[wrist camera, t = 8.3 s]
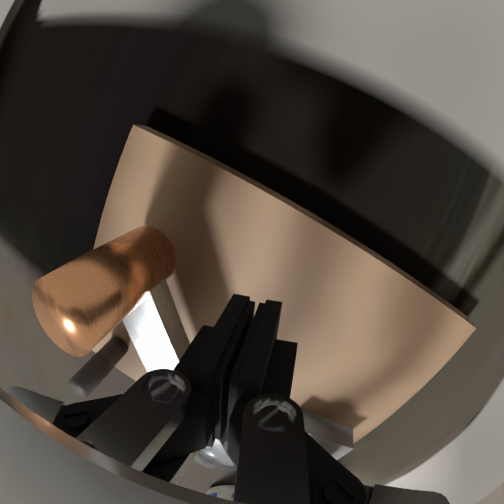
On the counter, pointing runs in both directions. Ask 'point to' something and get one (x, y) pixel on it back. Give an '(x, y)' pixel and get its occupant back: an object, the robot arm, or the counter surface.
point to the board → (278, 288)
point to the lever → (121, 308)
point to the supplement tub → (222, 491)
